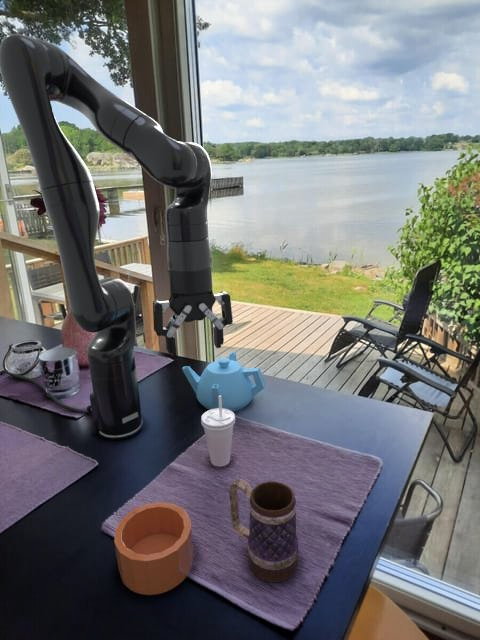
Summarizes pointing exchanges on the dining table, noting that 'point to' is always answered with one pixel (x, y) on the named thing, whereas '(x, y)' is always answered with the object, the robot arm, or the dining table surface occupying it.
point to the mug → (268, 528)
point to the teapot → (225, 384)
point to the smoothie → (219, 433)
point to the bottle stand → (154, 548)
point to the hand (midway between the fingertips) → (195, 350)
